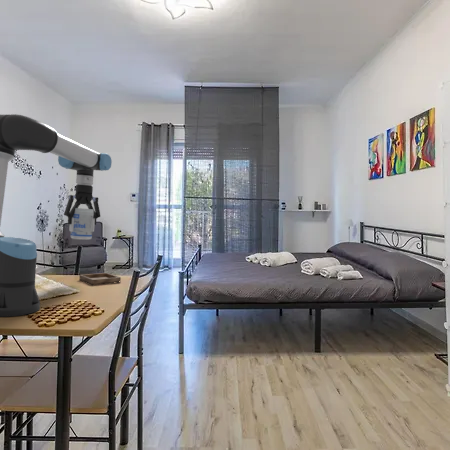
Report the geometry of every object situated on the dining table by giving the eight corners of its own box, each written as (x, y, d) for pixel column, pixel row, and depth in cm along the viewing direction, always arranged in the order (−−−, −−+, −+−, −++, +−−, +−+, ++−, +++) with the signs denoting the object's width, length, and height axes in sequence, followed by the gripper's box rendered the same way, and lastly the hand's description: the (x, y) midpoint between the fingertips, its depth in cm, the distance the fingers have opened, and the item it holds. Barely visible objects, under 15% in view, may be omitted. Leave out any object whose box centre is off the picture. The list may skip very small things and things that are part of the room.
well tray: (92, 285, 159) (92, 279, 159) (79, 280, 169) (79, 274, 169) (120, 282, 169) (120, 277, 169) (106, 277, 179) (106, 272, 179)
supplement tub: (68, 239, 162) (70, 207, 162) (72, 237, 171) (73, 207, 171) (91, 240, 165) (92, 209, 165) (93, 238, 174) (94, 209, 174)
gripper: (64, 181, 157) (61, 231, 157) (109, 187, 173) (107, 232, 174) (57, 182, 162) (54, 230, 162) (102, 187, 178) (99, 231, 179)
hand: (81, 231), depth 168 cm, fingers closed on supplement tub, 9 cm apart
